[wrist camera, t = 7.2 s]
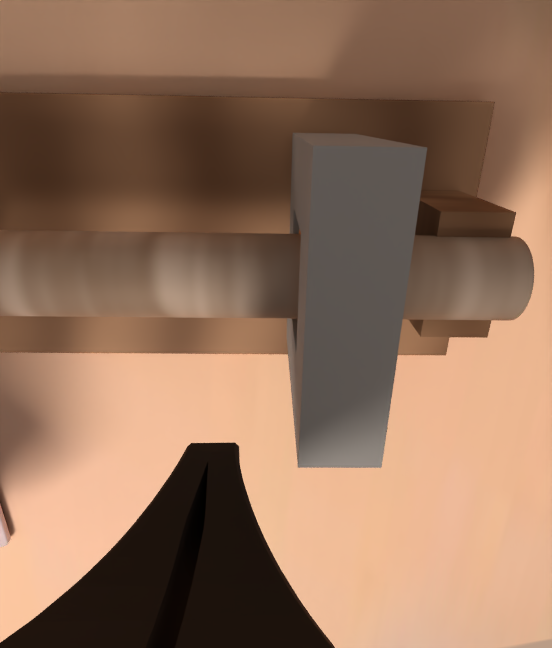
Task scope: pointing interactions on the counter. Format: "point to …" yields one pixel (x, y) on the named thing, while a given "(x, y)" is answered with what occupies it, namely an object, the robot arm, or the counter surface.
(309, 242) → the collar
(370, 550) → the counter surface
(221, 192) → the pipe stand
